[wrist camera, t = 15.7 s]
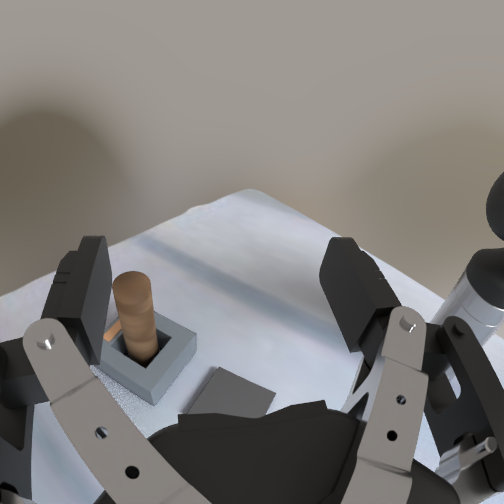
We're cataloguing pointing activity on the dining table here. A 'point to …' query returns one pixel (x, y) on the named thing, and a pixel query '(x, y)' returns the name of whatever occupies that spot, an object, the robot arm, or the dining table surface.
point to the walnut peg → (136, 316)
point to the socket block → (160, 369)
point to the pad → (232, 396)
